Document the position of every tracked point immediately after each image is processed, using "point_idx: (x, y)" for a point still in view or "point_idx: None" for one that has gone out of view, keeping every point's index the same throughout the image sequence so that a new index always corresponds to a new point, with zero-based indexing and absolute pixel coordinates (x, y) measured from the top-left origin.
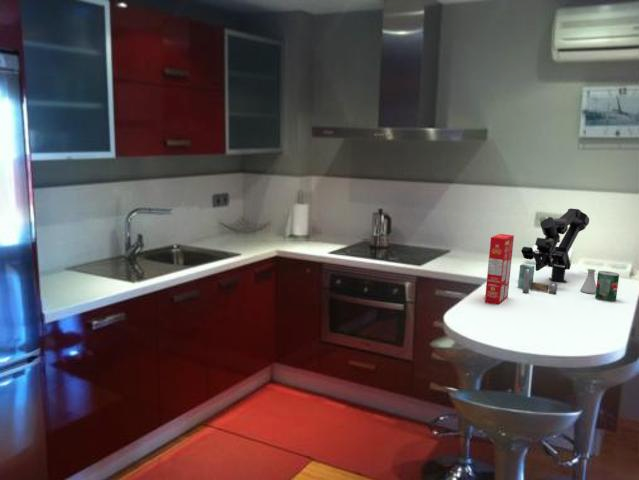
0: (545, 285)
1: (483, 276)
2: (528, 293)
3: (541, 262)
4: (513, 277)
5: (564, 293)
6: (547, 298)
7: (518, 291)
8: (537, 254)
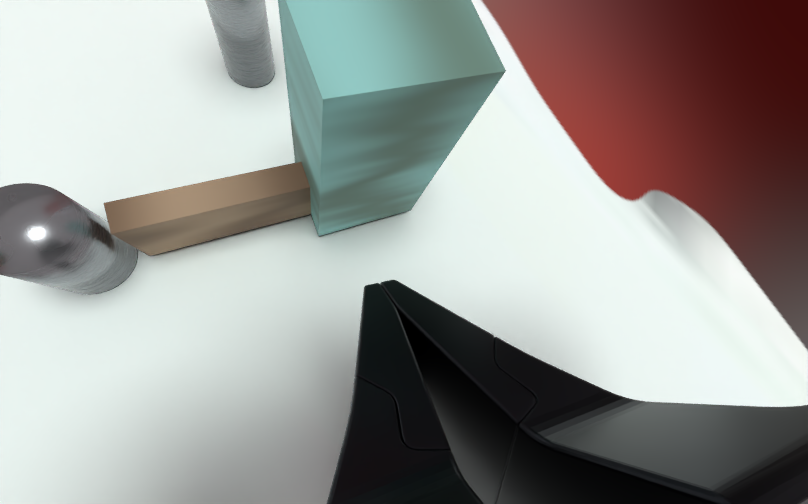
0: (140, 198)
1: (729, 265)
2: (227, 70)
3: (378, 389)
4: None
5: (6, 405)
6: (21, 46)
7: None
8: (732, 448)
